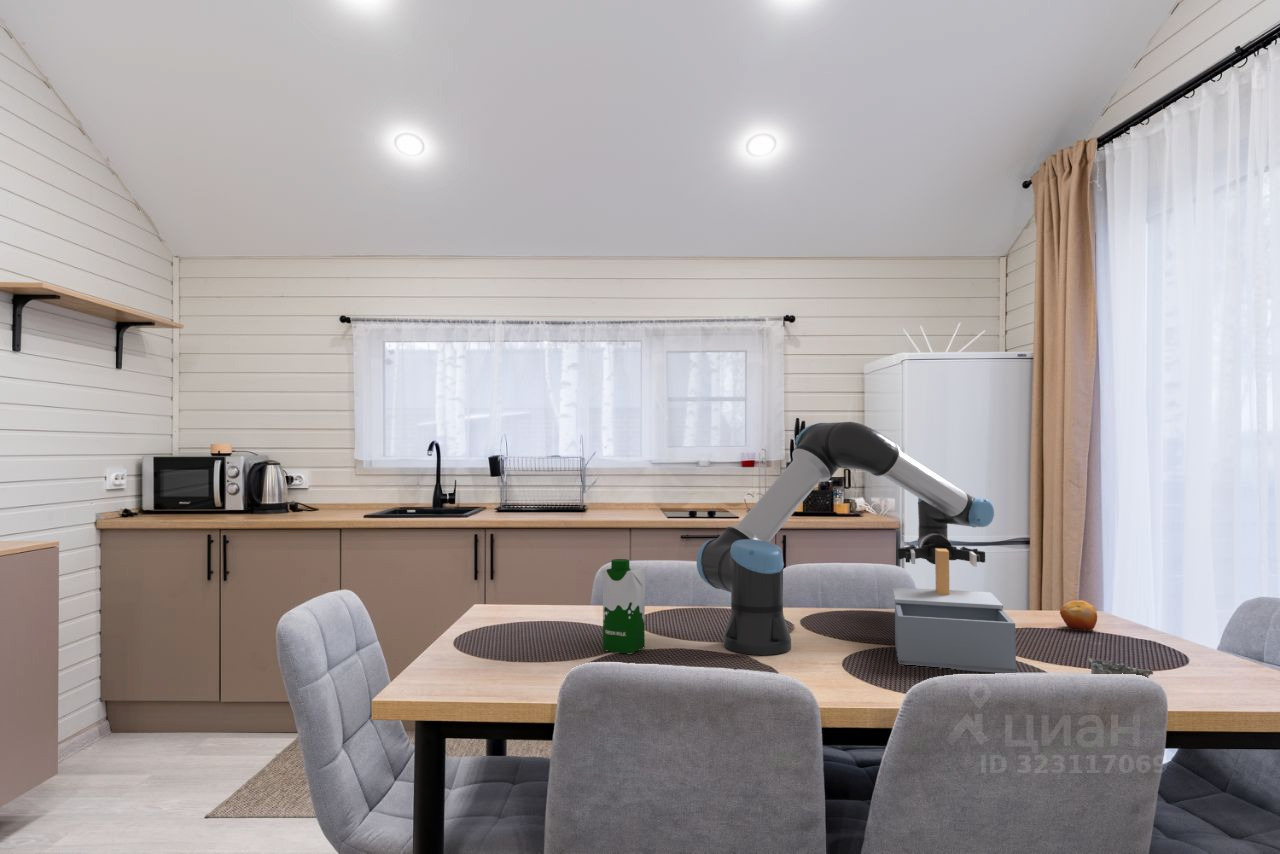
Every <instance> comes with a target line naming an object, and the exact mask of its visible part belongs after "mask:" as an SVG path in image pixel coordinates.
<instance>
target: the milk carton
mask: <svg viewBox="0 0 1280 854" xmlns="http://www.w3.org/2000/svg"><path fill="white" fill-rule="evenodd" d="M646 577H647V567H643V566H631V565H630V560H629V559H627V558H626V559H625V558H614V559H612V560H611V566H609V567H605V568H603V569H601V578H602V651H603V650H608V651H611V652H610V653H614V652H619V653H618V654H621V653H633V652H635V651H637V652H639V651H640V650H639V649H641V648H642V649H644V648H645V647H646V646H645V645H646V644H645V643H646V641H645V638H646V637H645V635H646V634H645V633H646V632H645V630H646V629H645V624H646V623H645V619H646V618H645V617H646V616H645V615H646V614H645V613H646V610H645V609H646V605H645V604H646V603H645V600H646V598H645V595H646V593H645V592H646V591H645V590H646V589H645V588H646V587H645V586H646ZM643 647H644V648H643ZM642 649H641V650H642ZM638 650H639V651H638ZM635 653H636V652H635Z"/></svg>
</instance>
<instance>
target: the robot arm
mask: <svg viewBox="0 0 1280 854" xmlns="http://www.w3.org/2000/svg"><path fill="white" fill-rule="evenodd" d="M791 456H792V461H791V462H790V463H789V465H787V467H786V468H785V469H784V470H783V472H782V473H781V474H780V475H779V476H778V477H777V479H776V480H775V481H774V482H773V483H772V485H770V487H769V488H768V489H767V490H766V491H765V492H764V493H763V495H762V496H761V497H760V498H759V500H758V501H757V502H756V503H755V504H754V505H753V507H752V508H751V509H750V510H749V511H748V512H747V513H746V515H745V516H744V517H743V518H742V519H741V520H740V521H739V523H738V524H737V525H729V526H727V527H726V528H725V529H724V531H723V532H722V533H721V534H720V535H719V536H718V537H717V538H715V537H714V538H710V539H708V540H707V541H705V542H704V543H703V544H702V545H700V547H699V549H698V551H697V555H696V560H695V561H696V570H697V572H698V575H699V576H700V579H702V580H703V582H704V583H706V584H708V586H711V587H713V588H714V589H719V590H722V591H725V592H729V593H730V599H731V600H730V603H731V604H730V607H731V608H730V613H729V616H728V620H727V624H726V627H725V629H724V633H723V640H722V641H723V643H722V644H723V647H724V648H725V649H727V650H729V651H731V652H735V653H740V654H745V655H746V654H747V655H757V656H771V655H778V654H779V655H780V654H784V653H787V652H790V651H791V649H792V637H791V634H790V631H789V628H788V624H787V622H786V619H785V616H784V615H785V614H784V566H785V563H784V557H783V555H784V554H783V551H782V549H781V547H780V546H779V545H778V544H775V543H773V542H771V540H772V539H773V538H774V537H775V535H776V534H777V533H778V532H779V531H780V530H781V529H782V528H783V526H784V525H785V524H786V522H787V521H788V520H789V519H790V518H791V516H792V515H794V513H795V512H796V510H797V509H798V508H799V507H800V506H801V504H802V503H803V502H804V501H805V500H806V499H807V497H808V496H809V495H810V494H811V492H812V491H813V490H814V489H815V488H816V487H817V485H818V484H819V483H820V482H823V483H824V482H829V480H830V479H831V478H832V477H833V476H834V474H835V473H836V472H837V471H838V470H839V469H856V470H862V471H865V472H868V473H869V474H871V475H873V476H875V477H881V476H883V477H884V478H886V479H887V480H889V481H891V482H893V483H894V484H896V485H897V486H899V487H900V488H902V489H904V490H906V491H907V492H909V493H910V494H912V495H913V496H915V497H917V498H918V501H917V506H918V507H917V509H918V510H917V511H918V528H917V529H918V538H917V545H914V544H911V545H908V546H904V547H900V548H897V559H899V560H902V559H904V560H905V563H911V564H912V565H915V564H916V560H917V559H923V560H926V561H927V562H929V563H930V564H932V565H935V548H938V549H947V550H948V551H949V561H958V560H959V561H966V562H969V563H970V565H971V566H972V567H978V565H977V564H978V563H986V551H981V550H978V548H969V547H966V546H962V547H960V548H957V546H953V545H952V544H951V542H950V541H949V540H948V525H955V526H956V525H957V526H964V527H972V528H984V527H988V526H990V524H991V523H992V522H993V520H994V517H995V507H994V505H993V504H992V502H991V501H990V500H989V499H987V498H981V497H974V496H972V495H970V494H969V493H967V492H965V491H964V490H962V489H960V488H959V487H957V486H956V485H954V484H953V483H951V482H949V480H946V479H945V478H944V477H942V476H940V475H939V474H938V473H936V472H933V471H932V470H931V469H930V468H928V467H926V466H925V465H923V464H921V463H920V462H919V461H916V459H914V458H912V457H910V456H909V455H908V454H906V453H904V452H903V451H901V449H900V447H899V445H898V443H897V442H895V441H894V440H892V439H890V438H889V437H888V436H885V435H884V434H882V433H880V432H878V431H877V430H875V429H873V428H871V427H869V426H867V425H865V424H862V423H859V422H855V421H844V422H841V421H840V422H839V421H837V422H819V423H814V424H811V425H808V426H806V427H805V428H803V429H802V430H801V431H800V433H799V434H798V435H797V437H796V439H795V447H794V449H793V451H792V455H791Z"/></svg>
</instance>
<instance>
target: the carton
mask: <svg viewBox="0 0 1280 854" xmlns="http://www.w3.org/2000/svg"><path fill="white" fill-rule="evenodd" d="M894 636H895V637H894V640H895V641H894V642H895V643H894V644H895V645H894V646H895V652H897V653H896V658H897V657H898V658H897V662H898V663H899V664H905V665H920V666H932V667H944V668H951V669H950V670H954V669H956V670H955V671H957V670H958V671H969V672H983V673H991V674H992V673H994V674H995V673H997V674H1005V673H1016V674H1017V655H1016V654H1017V653H1016V650H1017V649H1016V648H1017V647H1016V643H1017V642H1016V640H1017V639H1016V622H1015V621H1013V619H1012V618H1011V617H1010V616H1009V615H1008V613H1006V611H1004V609H993V608H975V607H958V606H940V605H923V604H905V603H895V602H894ZM899 664H898V665H899Z"/></svg>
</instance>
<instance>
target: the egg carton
mask: <svg viewBox="0 0 1280 854" xmlns="http://www.w3.org/2000/svg"><path fill="white" fill-rule="evenodd" d="M1088 660H1089V662H1090V664H1091V666H1090V667H1091V668H1090V670H1091V671H1090V673H1091V674H1122V673H1123V674H1136V675H1142V676H1145V677H1147V678H1150V676H1152V675H1154V672H1153V670H1152V669H1149V668H1144V669H1142V668H1136V667H1131V666H1126V664H1125V663H1124V662H1123V663H1122V662H1121V661H1120V662H1119V663H1115V661H1114V660H1109V661H1108V660H1106V659H1103V660H1102V659H1100V658H1098V659H1093V658H1091V657H1088Z"/></svg>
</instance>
